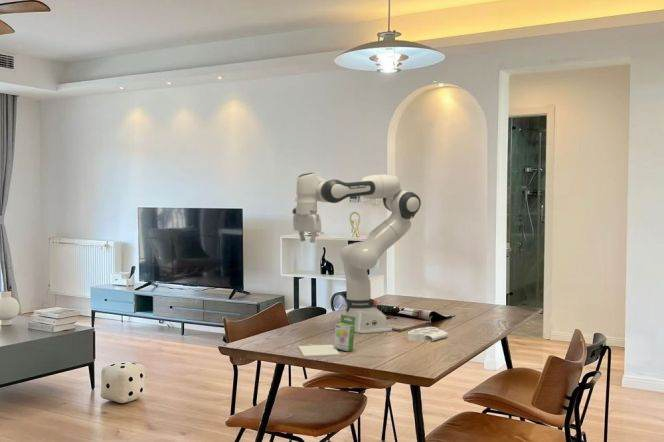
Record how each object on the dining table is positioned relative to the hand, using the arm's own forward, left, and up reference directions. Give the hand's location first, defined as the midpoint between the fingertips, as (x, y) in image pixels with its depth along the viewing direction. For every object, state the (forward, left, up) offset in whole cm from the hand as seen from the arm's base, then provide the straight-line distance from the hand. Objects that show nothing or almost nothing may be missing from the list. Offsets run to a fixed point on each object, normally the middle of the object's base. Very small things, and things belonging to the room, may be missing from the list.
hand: (307, 242), depth 285 cm
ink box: (-10, +29, -41) cm, 51 cm away
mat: (0, +29, -41) cm, 50 cm away
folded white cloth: (-50, +13, -42) cm, 66 cm away
